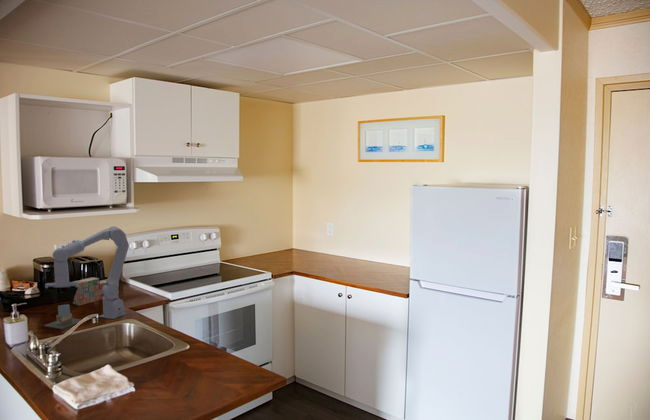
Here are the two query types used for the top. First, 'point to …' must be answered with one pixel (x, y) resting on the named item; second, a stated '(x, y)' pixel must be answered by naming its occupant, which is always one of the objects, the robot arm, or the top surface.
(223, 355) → the top surface
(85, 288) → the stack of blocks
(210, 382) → the top surface
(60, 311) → the blue block
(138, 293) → the top surface
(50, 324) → the baseplate
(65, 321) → the maple block
